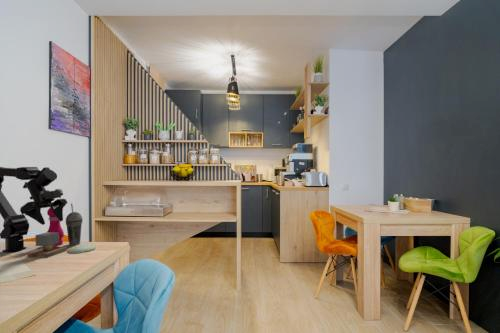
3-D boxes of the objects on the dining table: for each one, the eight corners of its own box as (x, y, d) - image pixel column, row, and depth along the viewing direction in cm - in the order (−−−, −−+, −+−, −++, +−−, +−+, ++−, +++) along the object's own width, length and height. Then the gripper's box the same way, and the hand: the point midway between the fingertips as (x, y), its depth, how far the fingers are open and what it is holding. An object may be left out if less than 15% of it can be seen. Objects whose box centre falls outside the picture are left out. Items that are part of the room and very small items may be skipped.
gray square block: (35, 245, 126) (35, 235, 126) (47, 242, 132) (47, 232, 132) (47, 246, 125) (47, 235, 125) (59, 242, 131) (59, 232, 131)
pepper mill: (67, 242, 146) (66, 202, 146) (56, 246, 139) (55, 204, 139) (54, 242, 147) (53, 202, 147) (42, 246, 140) (41, 204, 140)
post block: (27, 256, 124) (27, 238, 124) (48, 249, 134) (47, 233, 134) (47, 257, 123) (47, 239, 122) (66, 250, 132) (66, 233, 132)
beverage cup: (86, 242, 145) (85, 202, 145) (73, 246, 138) (72, 204, 138) (75, 241, 148) (74, 202, 148) (62, 245, 141) (61, 203, 141)
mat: (61, 252, 129) (61, 251, 129) (80, 245, 140) (80, 244, 140) (83, 253, 127) (83, 252, 127) (100, 246, 137) (100, 245, 137)
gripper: (31, 183, 120) (48, 216, 118) (68, 181, 138) (83, 210, 136) (12, 197, 122) (28, 230, 120) (51, 194, 140) (65, 222, 138)
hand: (53, 222), depth 128 cm, fingers open, 9 cm apart
